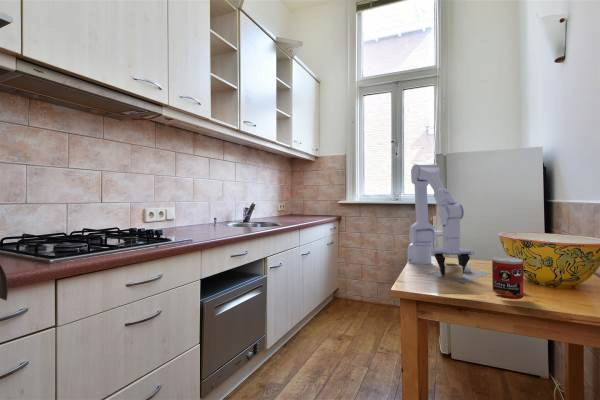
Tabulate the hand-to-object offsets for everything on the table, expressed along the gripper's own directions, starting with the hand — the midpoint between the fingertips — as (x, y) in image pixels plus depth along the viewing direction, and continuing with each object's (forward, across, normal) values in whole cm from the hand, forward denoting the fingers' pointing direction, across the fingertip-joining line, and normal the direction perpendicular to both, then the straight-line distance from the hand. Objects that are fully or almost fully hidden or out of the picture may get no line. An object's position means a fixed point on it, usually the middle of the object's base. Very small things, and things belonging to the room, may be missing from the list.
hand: (451, 274), depth 108 cm
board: (+2, +4, +4) cm, 5 cm away
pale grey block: (0, +7, +7) cm, 10 cm away
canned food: (+2, +11, -16) cm, 20 cm away
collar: (0, 0, 0) cm, 0 cm away
